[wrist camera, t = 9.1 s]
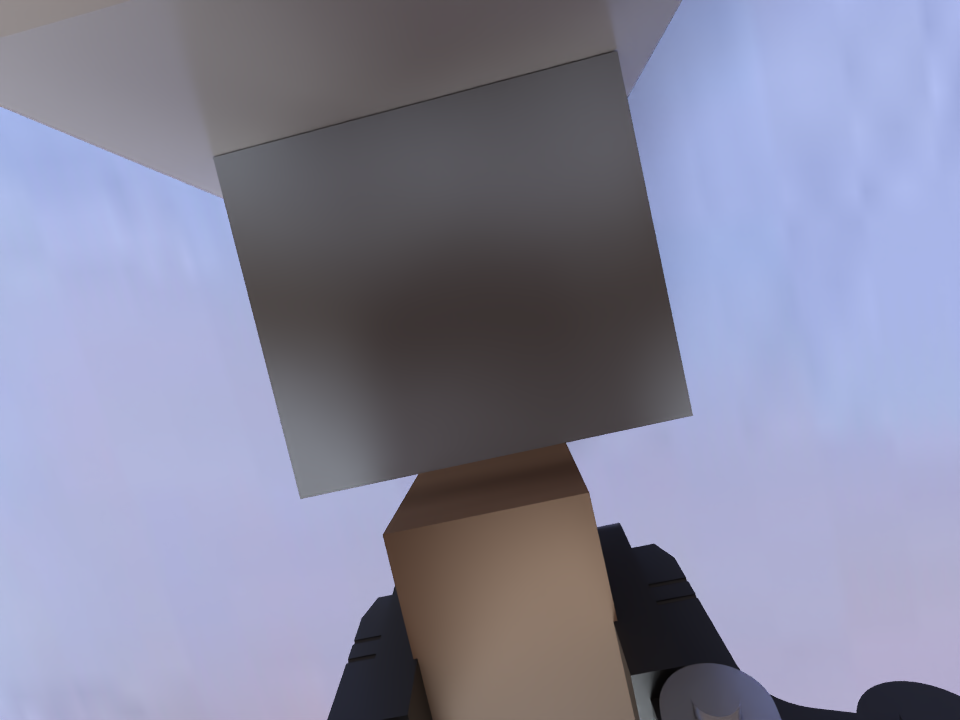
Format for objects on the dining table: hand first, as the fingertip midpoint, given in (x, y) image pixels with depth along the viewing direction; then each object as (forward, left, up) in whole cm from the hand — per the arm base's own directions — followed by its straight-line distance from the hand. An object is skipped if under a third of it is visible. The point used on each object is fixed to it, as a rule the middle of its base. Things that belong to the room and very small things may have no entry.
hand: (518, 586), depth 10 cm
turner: (-1, 0, -1) cm, 2 cm away
